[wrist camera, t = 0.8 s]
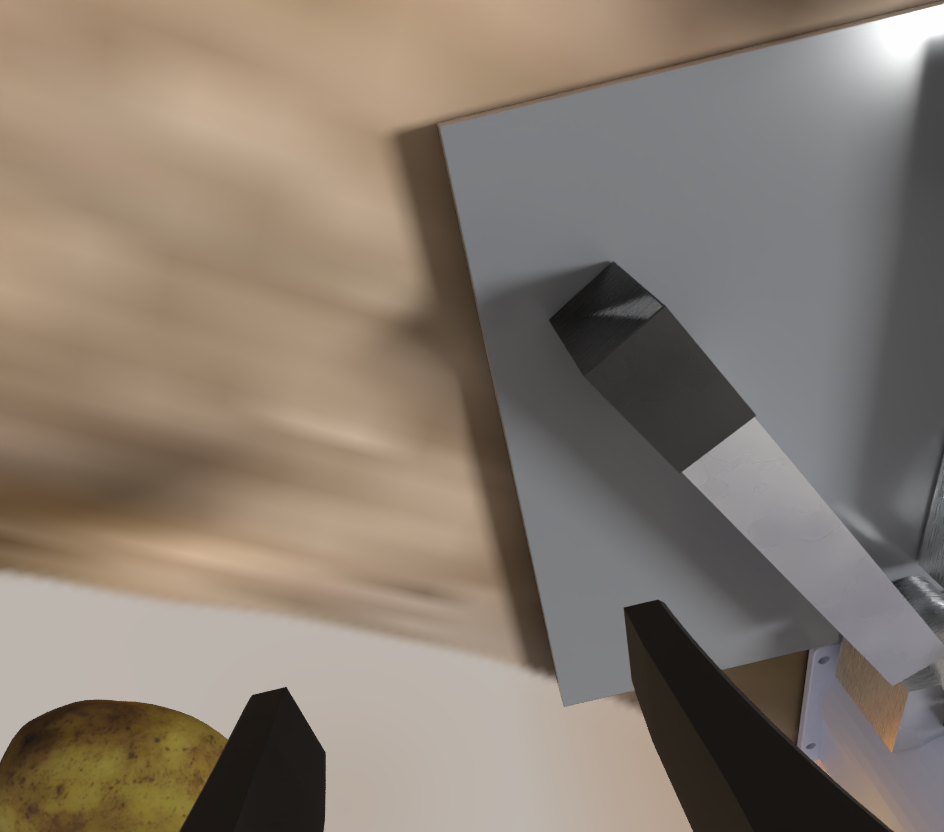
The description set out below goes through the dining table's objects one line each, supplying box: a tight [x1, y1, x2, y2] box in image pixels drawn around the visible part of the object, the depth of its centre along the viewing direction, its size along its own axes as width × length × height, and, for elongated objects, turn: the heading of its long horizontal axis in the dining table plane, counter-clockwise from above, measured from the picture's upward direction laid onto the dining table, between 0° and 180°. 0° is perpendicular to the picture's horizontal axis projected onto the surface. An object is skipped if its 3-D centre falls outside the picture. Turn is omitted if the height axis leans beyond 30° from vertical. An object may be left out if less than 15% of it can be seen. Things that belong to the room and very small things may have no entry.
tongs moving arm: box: [549, 261, 944, 686], centre depth 19 cm, size 18×2×4 cm, turn 44°
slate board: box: [437, 0, 944, 707], centre depth 20 cm, size 23×19×1 cm
